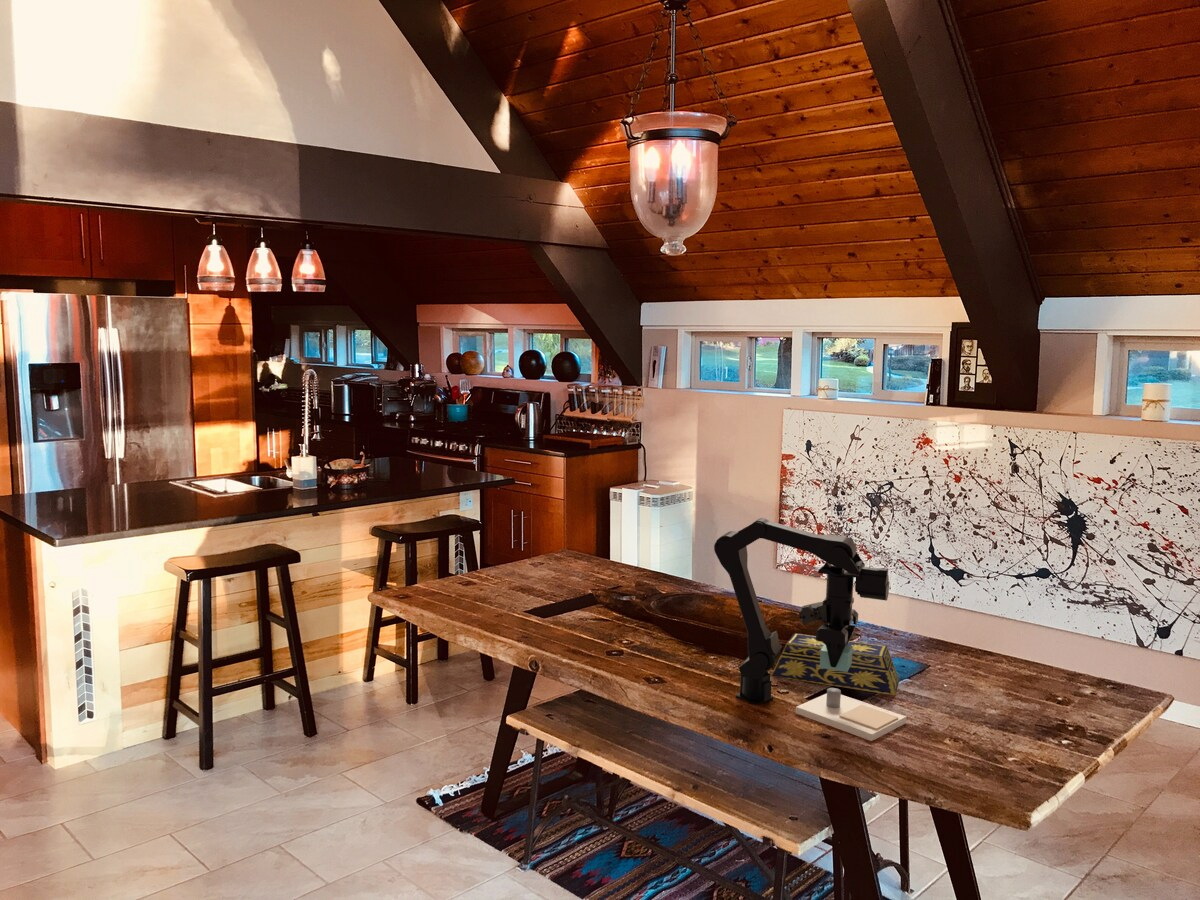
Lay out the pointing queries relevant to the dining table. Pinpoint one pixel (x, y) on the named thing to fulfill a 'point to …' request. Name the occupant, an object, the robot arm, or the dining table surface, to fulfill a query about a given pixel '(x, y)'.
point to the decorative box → (865, 672)
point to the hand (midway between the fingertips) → (835, 662)
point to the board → (851, 715)
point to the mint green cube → (843, 662)
